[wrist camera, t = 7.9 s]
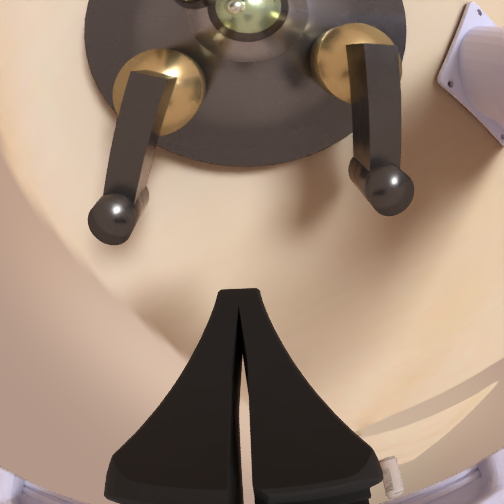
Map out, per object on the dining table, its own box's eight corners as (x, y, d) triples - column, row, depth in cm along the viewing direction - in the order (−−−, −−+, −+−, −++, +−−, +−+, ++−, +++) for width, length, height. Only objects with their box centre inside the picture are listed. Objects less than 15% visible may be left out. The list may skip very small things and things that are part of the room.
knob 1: (139, 43, 12) (98, 38, 8) (218, 62, 13) (209, 60, 9) (104, 186, 17) (67, 231, 12) (170, 205, 18) (149, 257, 13)
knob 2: (304, 26, 12) (334, 11, 8) (381, 28, 12) (433, 23, 7) (320, 177, 17) (347, 221, 13) (386, 171, 17) (429, 210, 13)
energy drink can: (388, 460, 74) (396, 496, 62) (375, 463, 73) (383, 500, 61) (399, 454, 71) (408, 492, 59) (386, 457, 70) (395, 496, 58)
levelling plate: (431, -20, 10) (458, -25, 7) (325, 200, 19) (338, 222, 17) (162, -116, 5) (152, -135, 3) (63, 120, 15) (38, 132, 12)
